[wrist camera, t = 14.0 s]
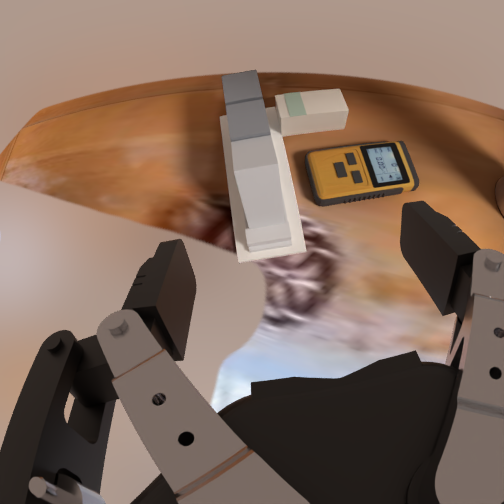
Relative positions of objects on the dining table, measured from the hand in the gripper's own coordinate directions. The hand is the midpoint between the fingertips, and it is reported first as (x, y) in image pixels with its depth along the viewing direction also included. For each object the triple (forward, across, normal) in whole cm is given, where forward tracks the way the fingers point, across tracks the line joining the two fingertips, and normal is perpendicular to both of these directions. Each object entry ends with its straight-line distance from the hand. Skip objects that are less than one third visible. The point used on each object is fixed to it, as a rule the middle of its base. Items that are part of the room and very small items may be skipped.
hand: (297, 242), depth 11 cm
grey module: (+28, +2, +11) cm, 30 cm away
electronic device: (+33, -13, +10) cm, 37 cm away
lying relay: (+40, -8, +3) cm, 41 cm away
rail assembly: (+34, +2, +9) cm, 35 cm away
